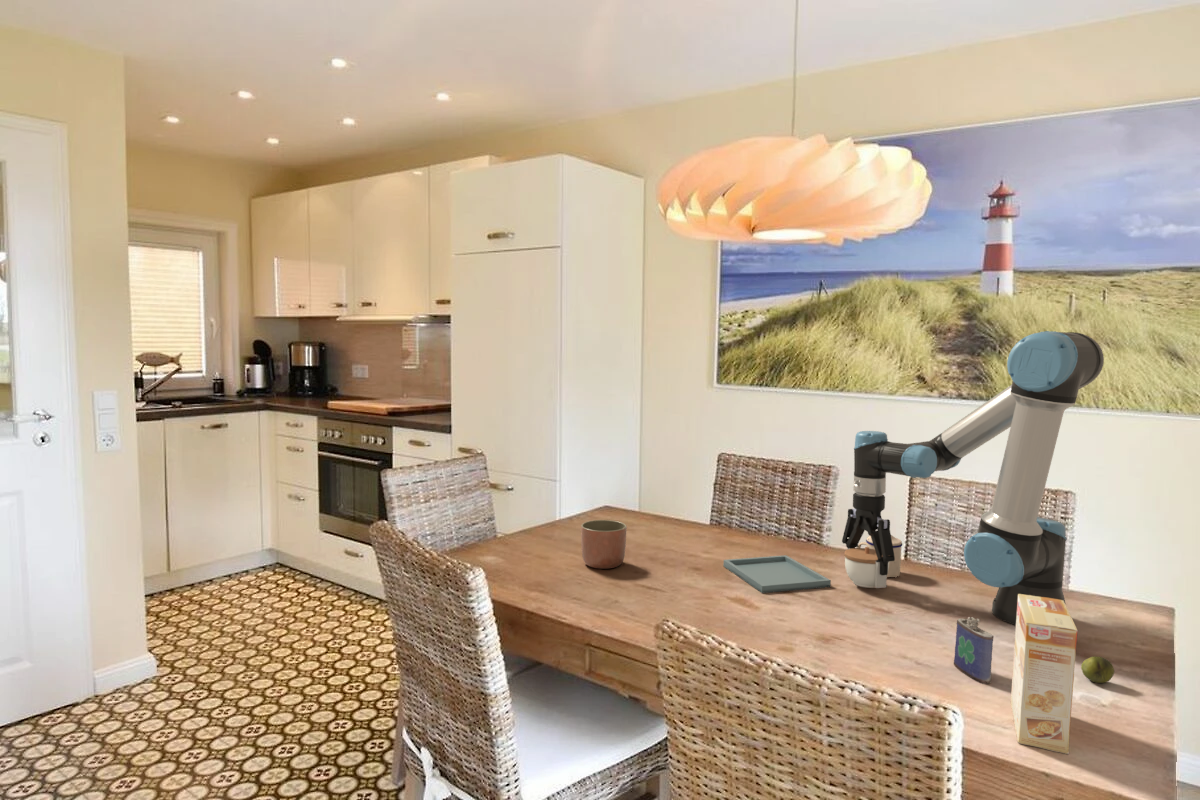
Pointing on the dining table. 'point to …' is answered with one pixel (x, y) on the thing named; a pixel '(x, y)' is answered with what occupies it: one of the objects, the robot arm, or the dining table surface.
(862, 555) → the lidded jar
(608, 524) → the planter
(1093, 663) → the lime
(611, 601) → the dining table surface
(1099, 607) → the dining table surface
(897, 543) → the teacup with lid
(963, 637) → the flask
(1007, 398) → the robot arm
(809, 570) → the tray
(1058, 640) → the coffeecake box
